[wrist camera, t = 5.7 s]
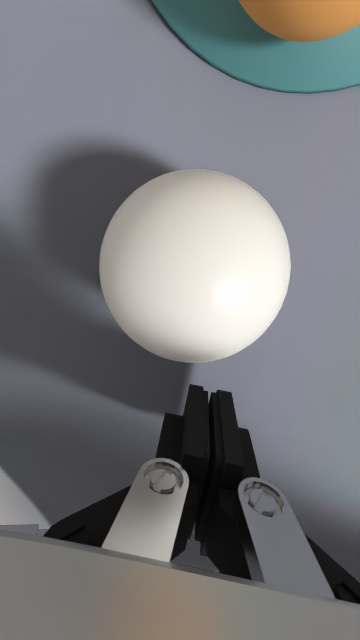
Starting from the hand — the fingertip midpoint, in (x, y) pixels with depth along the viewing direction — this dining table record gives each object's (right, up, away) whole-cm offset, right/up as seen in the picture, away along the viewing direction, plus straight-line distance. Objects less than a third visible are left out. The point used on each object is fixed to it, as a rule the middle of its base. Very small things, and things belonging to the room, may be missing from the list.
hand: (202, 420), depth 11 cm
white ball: (-1, +5, -3) cm, 6 cm away
